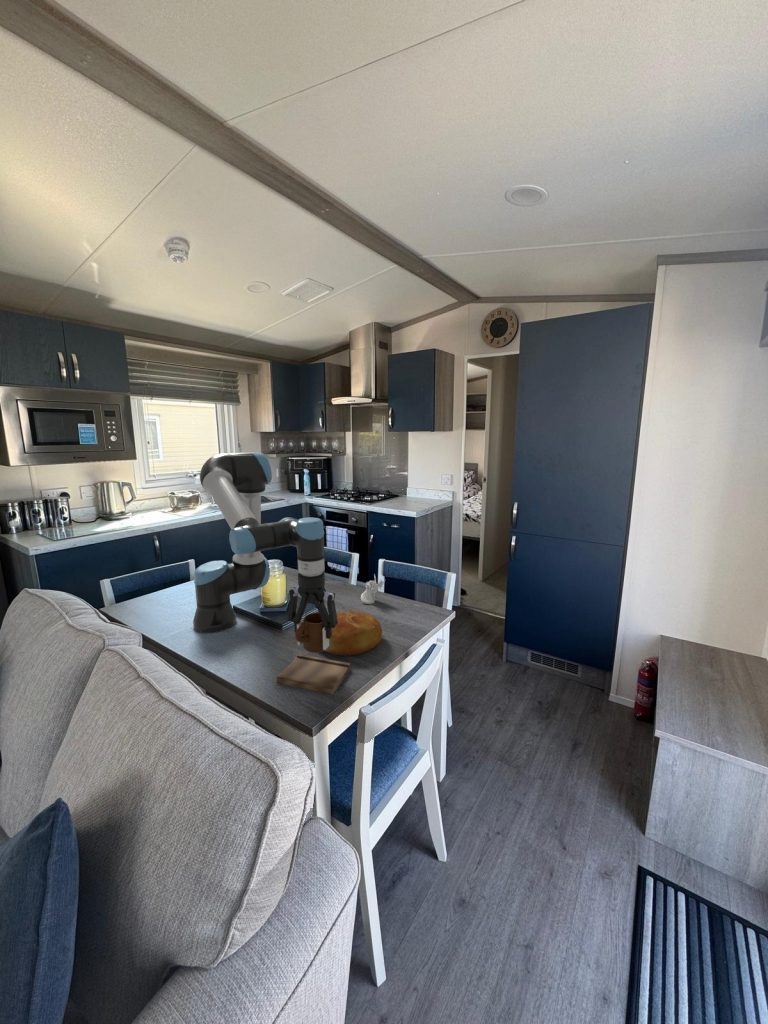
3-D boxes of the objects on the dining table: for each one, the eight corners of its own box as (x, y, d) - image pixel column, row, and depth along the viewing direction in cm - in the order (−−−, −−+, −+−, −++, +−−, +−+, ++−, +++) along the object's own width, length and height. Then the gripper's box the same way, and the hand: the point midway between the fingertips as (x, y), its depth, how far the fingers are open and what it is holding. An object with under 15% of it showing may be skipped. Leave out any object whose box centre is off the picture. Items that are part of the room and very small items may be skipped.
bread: (334, 622, 163) (334, 598, 161) (391, 634, 154) (392, 608, 152) (301, 651, 143) (300, 623, 141) (365, 666, 134) (364, 637, 132)
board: (276, 682, 125) (276, 676, 125) (298, 659, 137) (298, 653, 137) (332, 694, 120) (332, 687, 119) (350, 669, 132) (350, 663, 132)
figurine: (358, 603, 180) (357, 576, 178) (365, 596, 187) (365, 570, 185) (381, 607, 177) (382, 580, 174) (388, 600, 184) (388, 573, 181)
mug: (305, 663, 120) (305, 632, 118) (286, 653, 124) (286, 624, 122) (333, 645, 130) (334, 617, 128) (315, 637, 134) (315, 609, 132)
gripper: (272, 572, 121) (276, 645, 126) (339, 580, 115) (340, 657, 120) (286, 564, 128) (289, 634, 133) (349, 571, 122) (350, 644, 127)
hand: (313, 645), depth 127 cm, fingers closed on mug, 8 cm apart
